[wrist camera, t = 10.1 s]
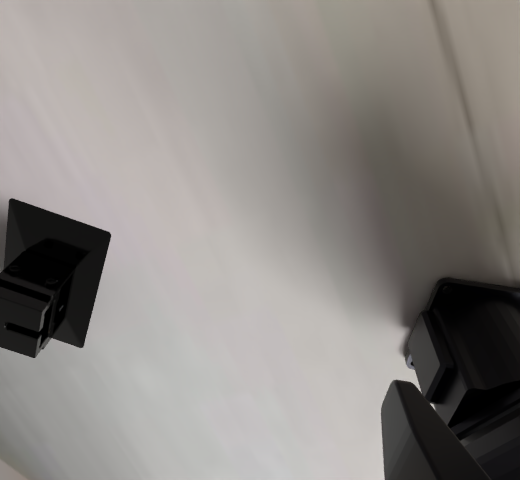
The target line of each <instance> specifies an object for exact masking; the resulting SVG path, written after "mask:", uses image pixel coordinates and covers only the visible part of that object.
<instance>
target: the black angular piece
mask: <svg viewBox="0 0 520 480" xmlns="http://www.w3.org/2000/svg"><path fill="white" fill-rule="evenodd" d="M110 238H111V234H110V233H109V232H107V231H105V230H102V229H99V228H96V227H93V226H90V225H87V224H85V223H82V222H79V221H76V220H73V219H70V218H67V217H64V216H62V215H59V214H56V213H53V212H50V211H47V210H44V209H42V208H39V207H36V206H33V205H30V204H27V203H24V202H21V201H19V200H16V199H13V198H11V199H10V200H9V209H8V222H7V235H6V248H5V261H4V270H3V271H2V272H1V273H0V347H2V348H5V349H8V350H11V351H14V352H17V353H20V354H23V355H26V356H29V357H32V358H35V357H36V356H37V355H38V353H39V352H40V350H41V349H44V348H45V346H46V345H47V344H48V342H49V341H50V339H51V338H53V339H56V340H59V341H62V342H65V343H68V344H71V345H74V346H76V347H79V348H83V346H84V342H85V338H86V334H87V330H88V326H89V322H90V318H91V314H92V310H93V306H94V302H95V298H96V294H97V290H98V286H99V282H100V278H101V274H102V270H103V266H104V262H105V258H106V254H107V250H108V246H109V242H110Z"/></svg>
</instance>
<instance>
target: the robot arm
mask: <svg viewBox="0 0 520 480" xmlns="http://www.w3.org/2000/svg"><path fill="white" fill-rule="evenodd" d="M446 286H450V287H449V288H448V289H443V288H444V287H446ZM408 348H409V350H408V352H407V354H406V357H405V361H406V365H407V367H408V368H410V369H414V370H415V371H416V375H417V378H418V382H419V385H420V388H421V392H422V393H421V392H420V391H419V390H418V388H417V387H416V386H415V385H414V384H413V383H411V382H407V381H401V380H393V381H392V382H391V384H390V386H389V389H388V391H387V394H386V396H385V399H384V401H383V404H382V408H381V423H382V441H383V458H384V475H385V480H520V289H517V288H510V287H504V286H497V285H491V284H484V283H478V282H471V281H465V280H458V279H452V278H443V279H441V280H439V281H438V282H437V283H436V285H435V288H434V290H433V292H432V295H431V297H430V300H429V302H428V304H427V307H426V309H425V310H423V311H422V312H421V313H420V315H419V318H418V320H417V322H416V325H415V327H414V330H413V332H412V334H411V337H410V339H409V342H408ZM430 403H432V404H434V407H435V410H436V411H435V410H434V408H433V407H432V406H431V405H430Z"/></svg>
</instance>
